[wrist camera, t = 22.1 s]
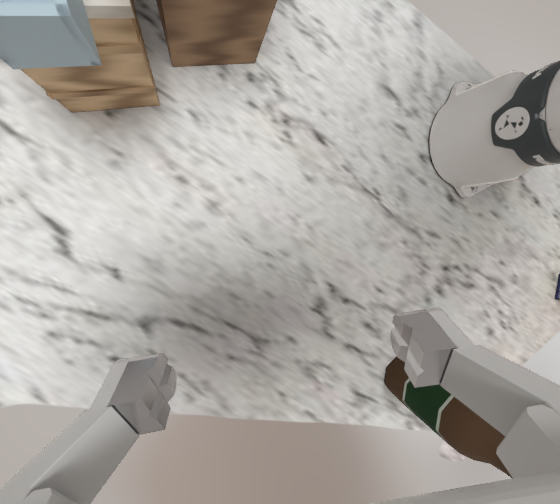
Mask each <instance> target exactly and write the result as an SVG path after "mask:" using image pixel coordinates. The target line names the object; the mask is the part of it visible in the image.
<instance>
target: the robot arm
mask: <svg viewBox="0 0 560 504" xmlns="http://www.w3.org/2000/svg"><path fill="white" fill-rule="evenodd" d="M430 154H431V158H432V162H433V164H434V167H435V169H436V171H437V172H438V174H439V175H440V176H441V177H442V178H443V179H444V180H445V181H446V182H448V183H449V184H451V185H452V186H453V187H454V188H455V189H456V191H457V192H458V194H459V195H460V196H461V197H462V198H467V197H471V196H473V195H475V194H476V193H478V192H480V191H482V190H484V189H486V188H488V187H490V186H492V185H493V184H495V183H499V182H506V181H512V180H516V179H517V178H518V177H519V176H521V175H523V174H525V173H526V172H528V171H529V170H530V169H532V168H533V167H535V166H543V165H554V164H559V163H560V61H558V62H554V63H551V64H549V65H547V66H545V67H543V68H542V69H540V70H537V71H535V72H533V73H531V74H529V75H526V74H524V73H522V72H515V71H513V70H512V71H509V72H506V73H504V74H501V75H499V76H497V77H494V78H492V79H490V80H487V81H485V82H483V83H481V84H473V83H468V82H460V83H457V84H455V85H454V86H453V88H452V90H451V93H450V96H449V98H448V100H447V102H446V103H445V104H444V105H443V107H442V108H441V109H440V110H439V112H438V113H437V115H436V117H435V119H434V121H433V124H432V128H431V132H430ZM392 322H393V324H394V326H395V327H394V328H393V329H392V330H391V336H390V338H391V343H392V347H393V349H394V352H395V354H396V355H397V357H398V358H399V359H401V360H402V361H404V362H405V367H404V370H405V372H406V373H407V375H408V377H409V379H410V380H411V382H412V384H413V386H414V387H415V388H417V387H424V386H431V385H438V384H441V385H440V386H441V387H443V388H444V389H445V390H446V391H448V392H449V393H450V394H452V395H453V396H454V397H455V398H457V399H458V400H459V401H461V402H462V403H463V404H464V405H466V406H467V407H468V408H470V409H471V410H472V411H473V412H475V413H476V414H477V415H479V416H480V417H481V418H482V419H484V420H485V421H486V422H487V423H489V424H490V425H491V426H493V427H494V428H495V429H496V430H498V431H499V432H500V433H502V434H503V435H504V436H505V438H504V439H503V440H502V442H501V443H500V444H499V446H498V447H497V451H496V454H497V455H498V457H499V458H500V460H501V461H502V463H503V464H504V466H505V467H506V469H507V470H508V472H509V473H510V475H511V476H512V478H513V479H508V480H503V481H498V482H491V483H485V484H479V485H474V486H468V487H462V488H456V489H450V490H444V491H439V492H433V493H428V494H421V495H416V496H410V497H404V498H398V499H392V500H386V501H381V502H375V503H369V504H560V385H558V384H556V383H554V382H552V381H550V380H548V379H546V378H544V377H542V376H540V375H538V374H536V373H534V372H532V371H530V370H528V369H526V368H524V367H522V366H520V365H518V364H516V363H514V362H512V361H510V360H508V359H506V358H504V357H502V356H500V355H498V354H496V353H494V352H492V351H490V350H488V349H487V348H485V347H483V346H481V345H474V344H473V343H472V342H471V341H470V340H469V339H468V337H467V336H466V335H465V334H464V333H463V332H462V331H461V330H460V329H459V328H458V326H457V325H456V324H455V323H454V322H453V321H452V320H451V319H450V318H449V317H448V315H447V314H446V313H445V312H444V311H443V310H442V309H440V308H439V307H438V308H431V309H425V310H418V311H412V312H407V313H401V314H396V315H394V317H393V321H392ZM167 360H168V359H167V357H166V356H165V354H164V353H163V354H154V355H147V356H140V357H133V358H126V359H120V360H117V361H116V362H115V363H114V364H113V366H112V368H111V369H110V371H109V373H108V375H107V377H106V379H105V381H104V383H103V385H102V387H101V389H100V390H99V392H98V394H97V396H96V398H95V400H94V402H93V404H92V406H91V408H90V409H89V410H85V411H84V412H83V413H82V414H80V415H79V416H78V417H77V418H76V419H75V420H74V421H73V422H72V423H71V424H70V425H69V426H68V427H67V428H65V429H64V430H63V431H62V432H61V433H60V434H59V435H58V436H57V437H56V438H55V439H54V440H52V441H51V442H50V443H49V444H48V445H47V446H46V447H45V448H44V449H43V450H42V451H41V452H40V453H39V454H38V455H36V456H35V457H34V458H33V459H32V460H31V461H30V462H29V463H28V464H27V465H26V466H25V467H23V468H22V469H21V470H20V471H19V472H18V473H17V474H16V475H15V476H14V477H13V478H12V479H11V480H10V481H8V482H7V483H6V484H5V485H4V486H3V487H2V488H1V489H0V504H90V503H91V502H92V501H93V499H94V498H95V497H96V495H97V494H98V492H99V491H100V490H101V488H102V487H103V485H104V484H105V483H106V481H107V480H108V479H109V477H110V476H111V474H112V473H113V472H114V470H115V469H116V467H117V466H118V464H119V463H120V462H121V461H122V459H123V458H124V457H125V455H126V454H127V452H128V451H129V450H130V448H131V447H132V445H133V444H134V443H135V441H136V440H137V438H138V437H139V435H140V434H145V433H150V432H155V431H160V430H165V427H166V423H167V419H168V416H169V412H170V406H169V404H168V401H169V400H170V399H171V398H172V397H173V395H174V393H175V389H176V374H175V371H174V369H173V367H172V366H169V365H167V364H166V363H167Z"/></svg>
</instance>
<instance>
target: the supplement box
mask: <svg viewBox="0 0 560 504" xmlns="http://www.w3.org/2000/svg"><path fill="white" fill-rule="evenodd" d="M555 299H558V300H560V274H559V281H558V287H557V293H556V296H555Z"/></svg>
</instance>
